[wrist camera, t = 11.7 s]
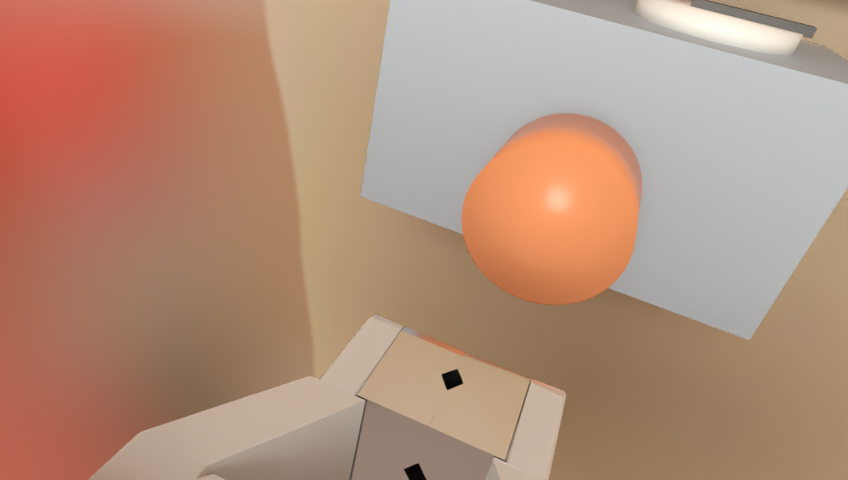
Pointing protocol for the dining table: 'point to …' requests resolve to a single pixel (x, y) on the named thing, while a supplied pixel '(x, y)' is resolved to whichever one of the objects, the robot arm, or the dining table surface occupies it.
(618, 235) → the button
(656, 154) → the gauge cabinet
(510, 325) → the dining table surface
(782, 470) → the dining table surface
